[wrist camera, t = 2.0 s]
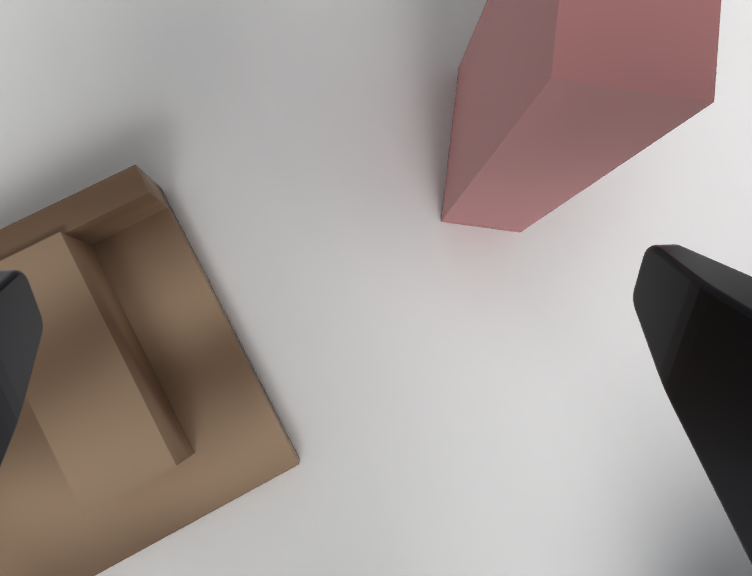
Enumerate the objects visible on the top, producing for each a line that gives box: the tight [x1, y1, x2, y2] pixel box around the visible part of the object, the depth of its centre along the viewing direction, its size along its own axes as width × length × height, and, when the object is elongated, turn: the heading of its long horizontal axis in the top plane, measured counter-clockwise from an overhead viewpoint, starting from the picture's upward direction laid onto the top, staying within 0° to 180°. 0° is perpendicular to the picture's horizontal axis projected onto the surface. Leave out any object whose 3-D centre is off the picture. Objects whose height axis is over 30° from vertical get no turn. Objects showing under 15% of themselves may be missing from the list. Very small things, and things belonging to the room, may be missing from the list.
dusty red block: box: [441, 0, 721, 232], centre depth 18 cm, size 6×3×12 cm, turn 173°
